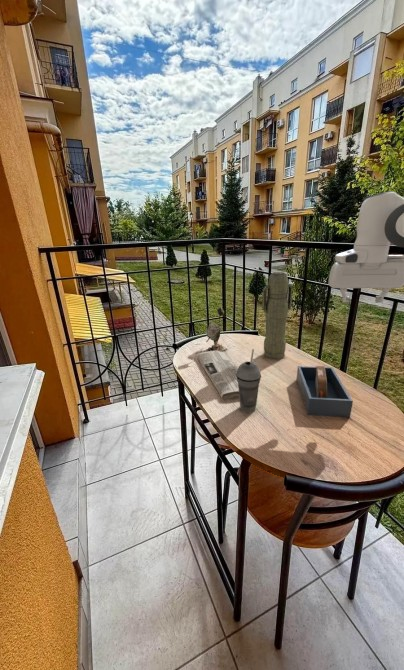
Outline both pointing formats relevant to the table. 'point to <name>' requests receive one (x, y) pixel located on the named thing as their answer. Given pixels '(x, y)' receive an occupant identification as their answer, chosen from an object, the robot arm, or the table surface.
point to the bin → (337, 395)
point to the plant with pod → (215, 333)
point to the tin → (321, 382)
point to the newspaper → (220, 372)
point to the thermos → (276, 314)
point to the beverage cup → (248, 385)
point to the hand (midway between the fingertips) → (361, 302)
